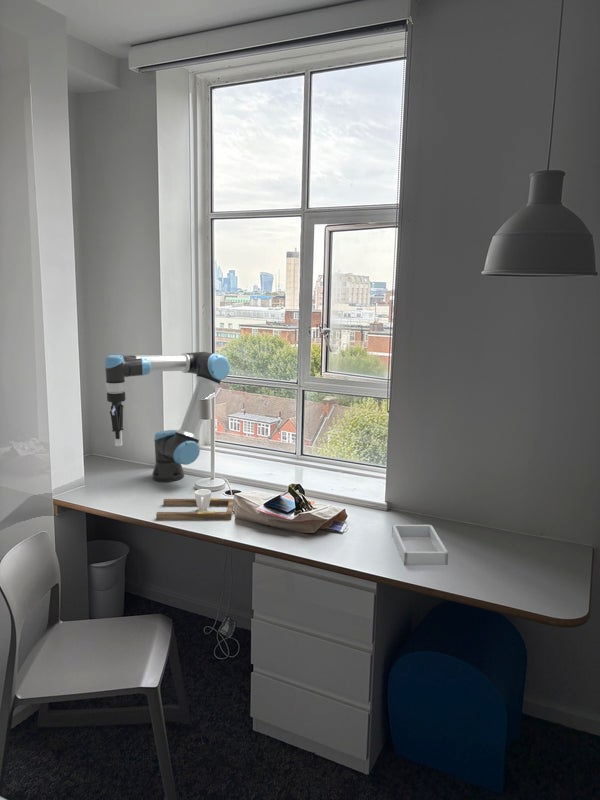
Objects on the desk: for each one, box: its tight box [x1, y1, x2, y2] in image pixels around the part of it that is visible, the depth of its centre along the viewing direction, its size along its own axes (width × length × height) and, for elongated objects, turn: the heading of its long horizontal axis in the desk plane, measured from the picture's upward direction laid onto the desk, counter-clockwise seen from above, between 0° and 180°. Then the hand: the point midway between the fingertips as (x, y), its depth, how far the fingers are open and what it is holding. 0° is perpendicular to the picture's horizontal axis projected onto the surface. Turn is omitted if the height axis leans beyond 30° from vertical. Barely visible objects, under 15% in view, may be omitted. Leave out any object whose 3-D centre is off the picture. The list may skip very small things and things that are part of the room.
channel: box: [155, 497, 235, 521], centre depth 255 cm, size 17×30×3 cm, turn 92°
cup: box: [194, 488, 212, 511], centre depth 255 cm, size 7×10×8 cm
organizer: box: [391, 524, 449, 566], centre depth 221 cm, size 24×15×4 cm, turn 2°
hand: (118, 445), depth 264 cm, fingers closed
